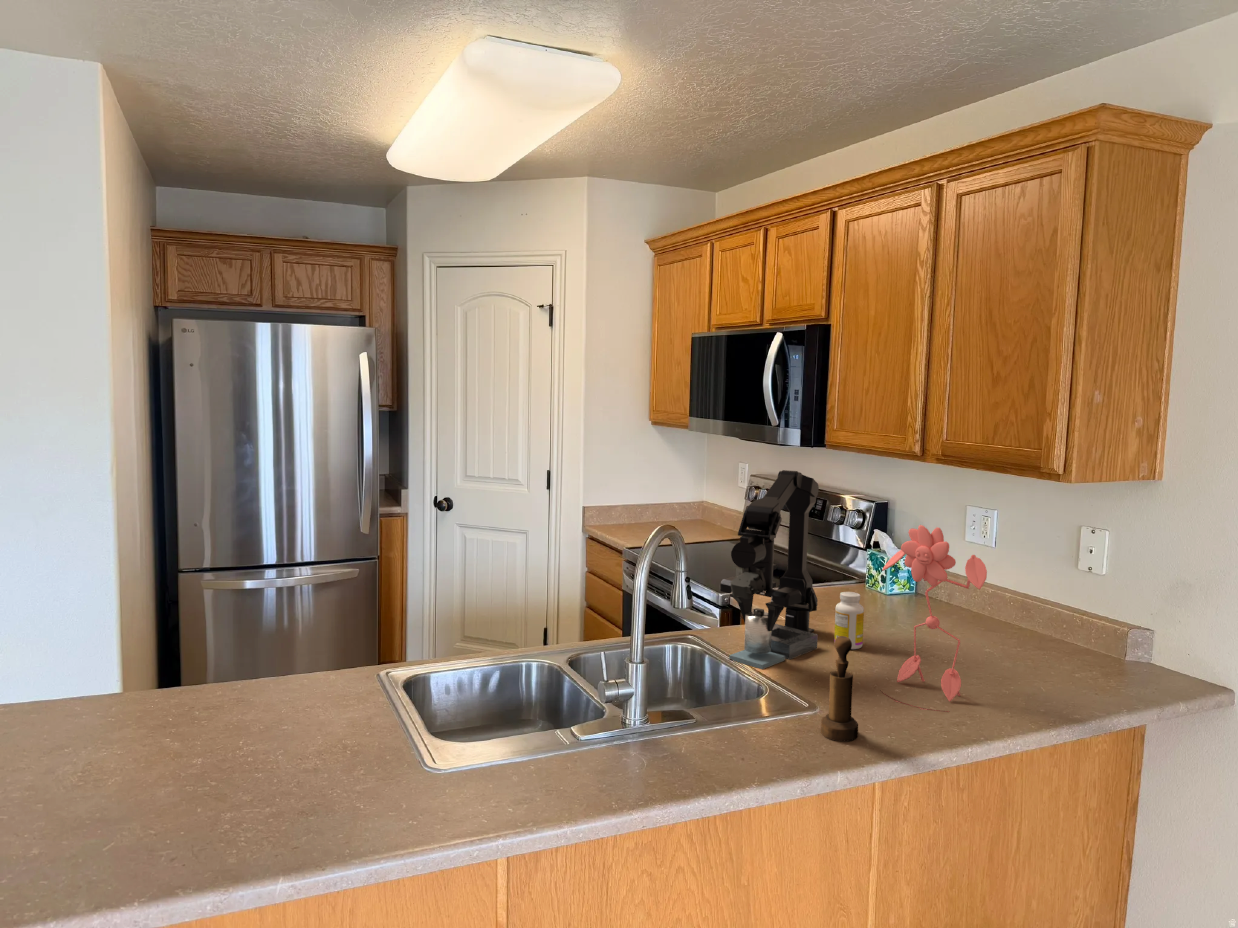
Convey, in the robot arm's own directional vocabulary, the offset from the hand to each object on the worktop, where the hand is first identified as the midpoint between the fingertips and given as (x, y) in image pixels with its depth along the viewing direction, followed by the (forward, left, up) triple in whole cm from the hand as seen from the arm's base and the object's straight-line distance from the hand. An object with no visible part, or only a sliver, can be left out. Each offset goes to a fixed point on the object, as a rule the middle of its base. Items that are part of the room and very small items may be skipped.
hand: (758, 627), depth 191 cm
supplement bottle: (-25, +9, -8) cm, 28 cm away
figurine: (-7, +35, -8) cm, 37 cm away
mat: (0, 0, -8) cm, 8 cm away
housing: (-11, -1, -8) cm, 14 cm away
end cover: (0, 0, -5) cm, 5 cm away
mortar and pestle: (+23, +34, -8) cm, 42 cm away
